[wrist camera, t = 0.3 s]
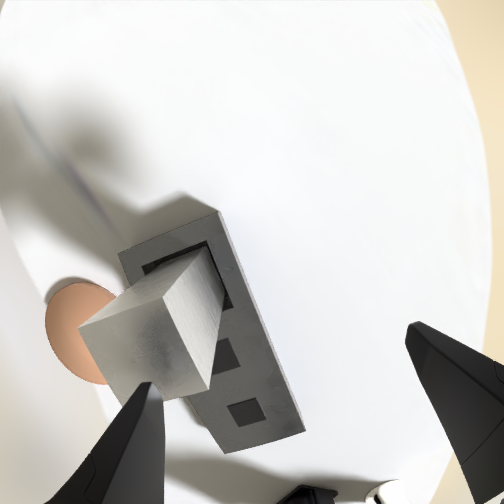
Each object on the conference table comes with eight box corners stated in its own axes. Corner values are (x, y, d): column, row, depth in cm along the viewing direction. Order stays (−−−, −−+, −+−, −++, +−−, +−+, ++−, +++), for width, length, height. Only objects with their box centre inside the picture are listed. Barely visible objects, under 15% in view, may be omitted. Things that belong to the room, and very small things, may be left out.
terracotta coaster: (120, 396, 26) (117, 401, 25) (42, 343, 24) (37, 346, 24) (156, 320, 25) (153, 324, 24) (66, 262, 23) (60, 264, 22)
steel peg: (225, 291, 24) (208, 389, 11) (180, 307, 24) (124, 409, 11) (206, 245, 24) (162, 297, 10) (161, 263, 24) (77, 327, 10)
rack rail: (300, 412, 26) (306, 431, 23) (225, 434, 27) (224, 454, 24) (220, 211, 23) (217, 212, 20) (131, 248, 24) (116, 254, 20)
